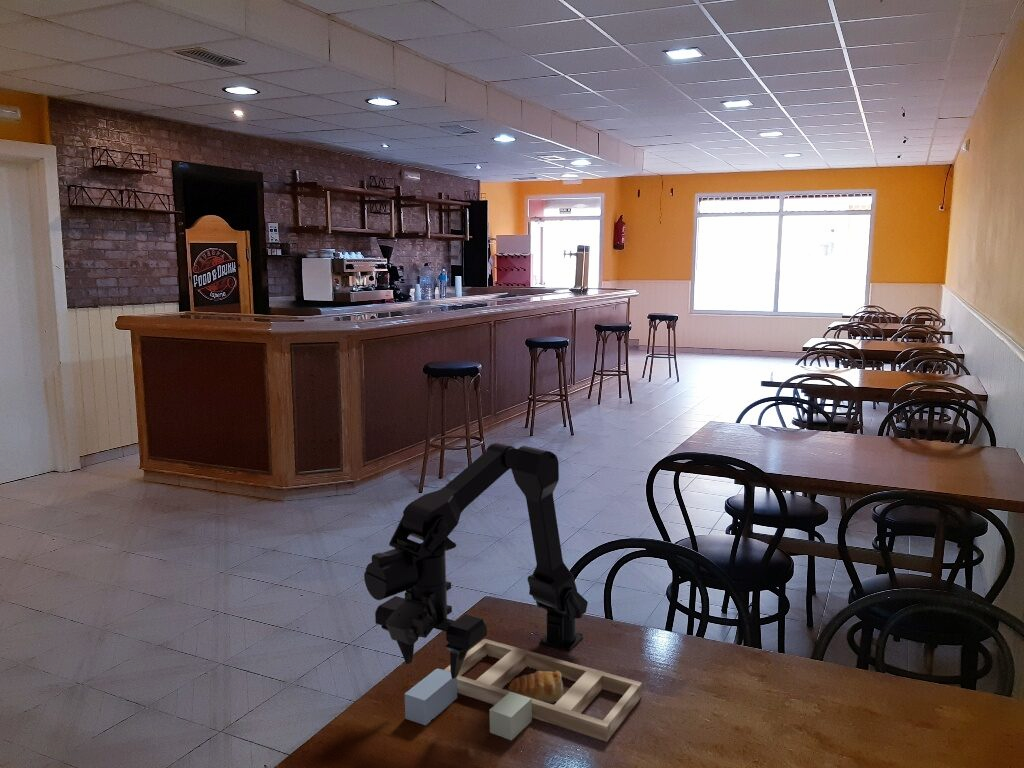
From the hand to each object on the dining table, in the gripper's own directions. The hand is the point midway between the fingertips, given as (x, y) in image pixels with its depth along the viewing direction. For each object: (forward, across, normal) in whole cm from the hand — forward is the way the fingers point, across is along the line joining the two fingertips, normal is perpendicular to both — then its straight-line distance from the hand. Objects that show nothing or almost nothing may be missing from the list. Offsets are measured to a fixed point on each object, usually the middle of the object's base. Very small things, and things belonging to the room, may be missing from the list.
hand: (431, 670), depth 128 cm
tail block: (+7, +14, +2) cm, 16 cm away
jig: (+7, +13, +13) cm, 19 cm away
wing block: (+7, 0, 0) cm, 7 cm away
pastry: (+7, +13, +12) cm, 20 cm away
